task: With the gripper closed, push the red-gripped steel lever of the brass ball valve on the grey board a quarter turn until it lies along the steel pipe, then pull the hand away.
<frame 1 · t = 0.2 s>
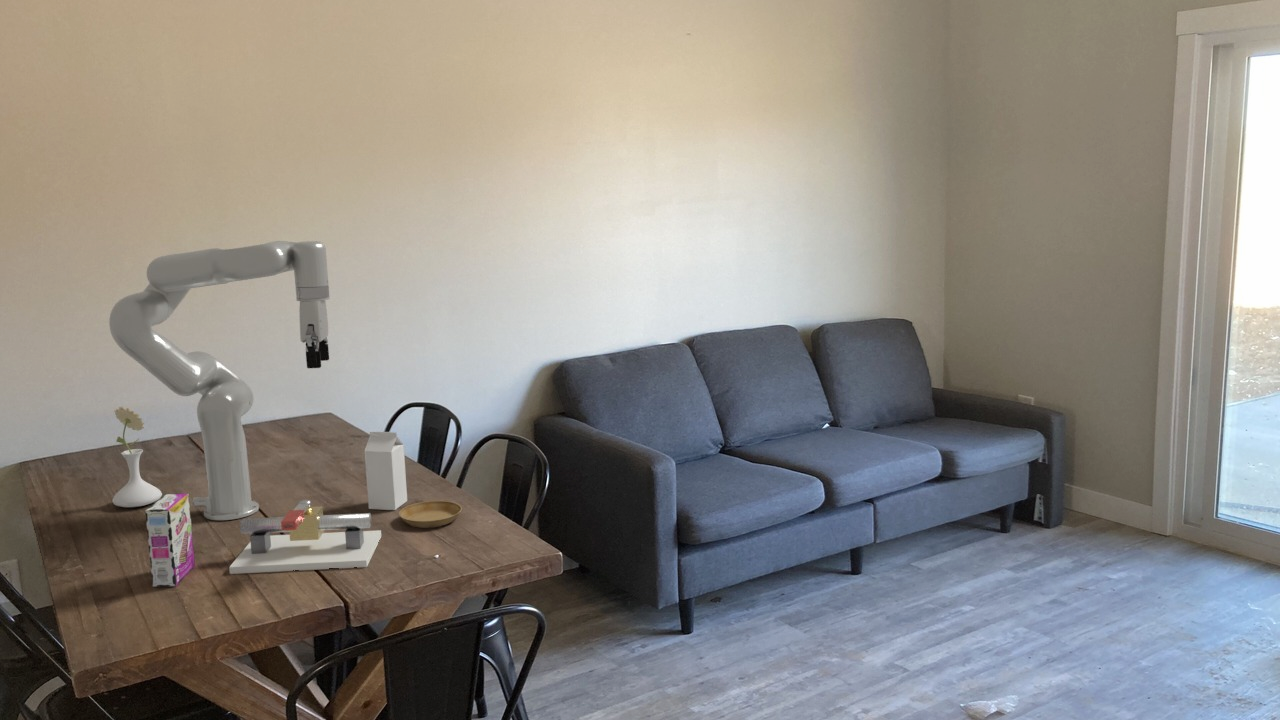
hand: (318, 364, 239), 37 cm above the table, tool pointing down, fingers open, 9 cm apart
flower in vase: (137, 503, 253), on the table
valve lever: (297, 513, 208), point 11 cm above the table, hinge at 0.0°
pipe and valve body: (306, 528, 215), on the valve board, point 6 cm above the table
candy bar box: (175, 577, 205), on the table
valve board: (309, 554, 216), on the table
milk carton: (388, 506, 247), on the table
plant saucer: (431, 521, 237), on the table
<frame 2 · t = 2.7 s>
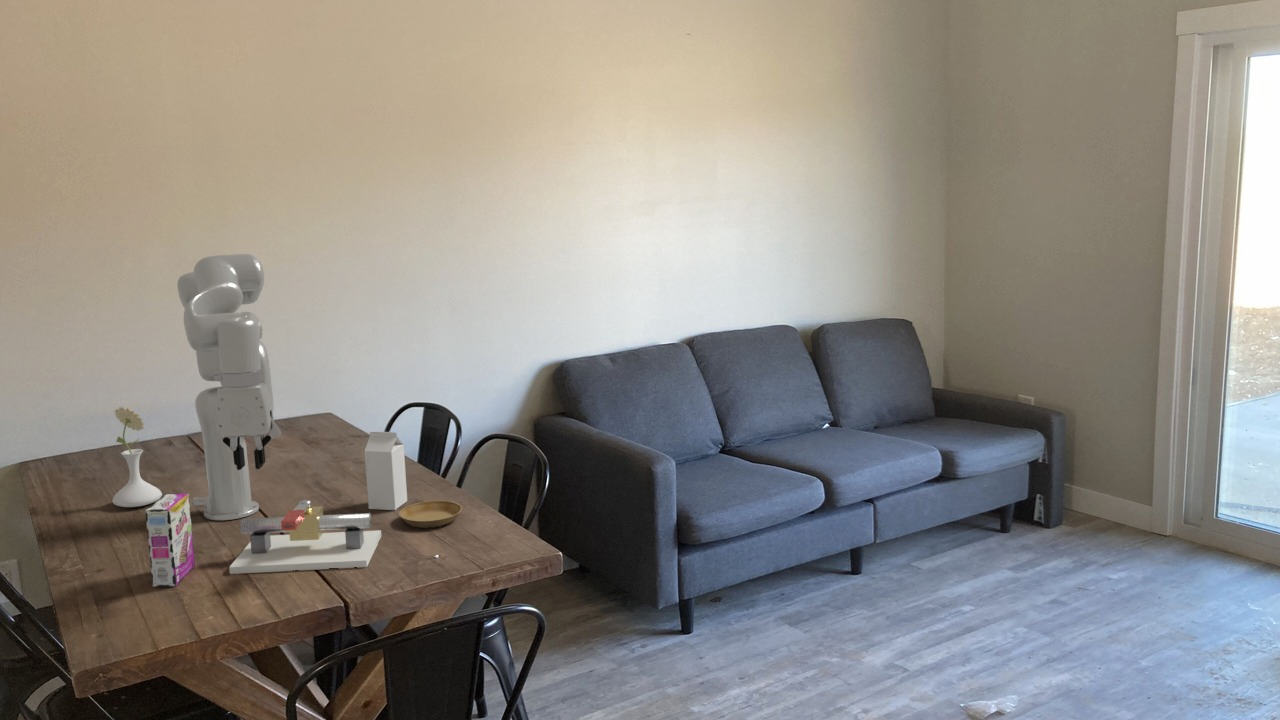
hand: (250, 466, 201), 23 cm above the table, tool pointing down, fingers open, 3 cm apart
nothing on the table moved.
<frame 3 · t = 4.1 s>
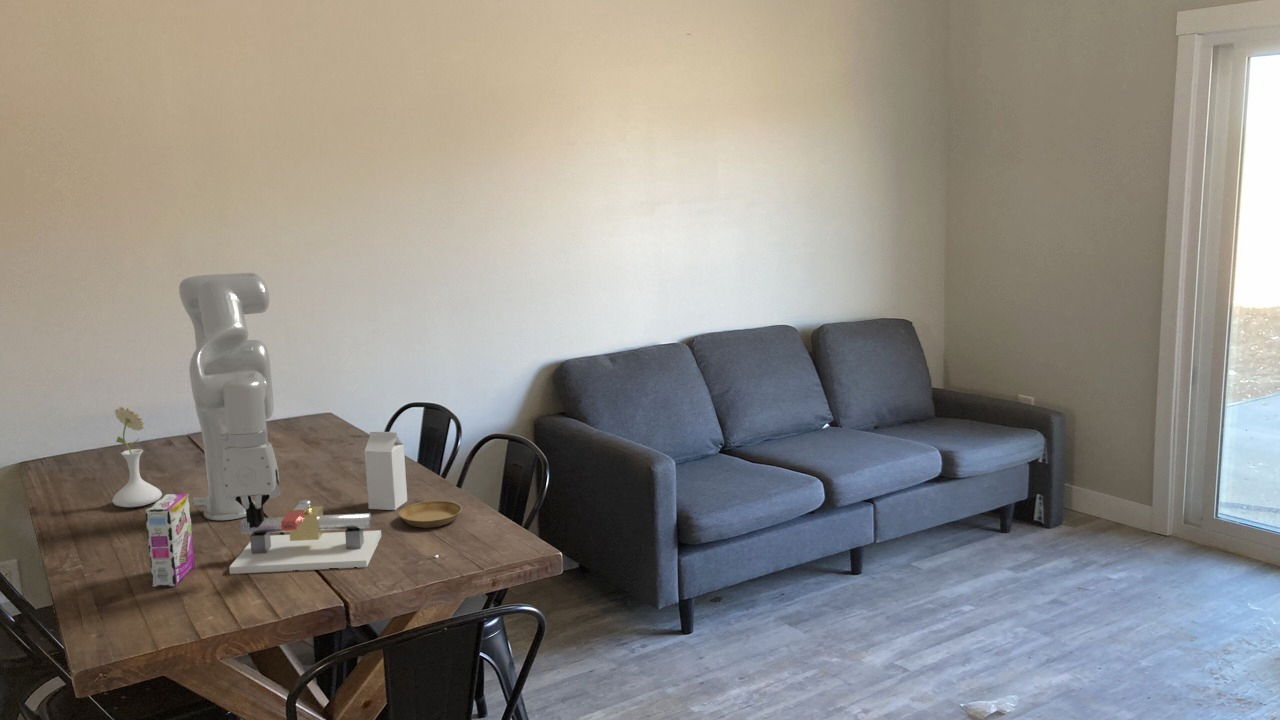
hand: (256, 525, 203), 11 cm above the table, tool pointing down, fingers closed
nothing on the table moved.
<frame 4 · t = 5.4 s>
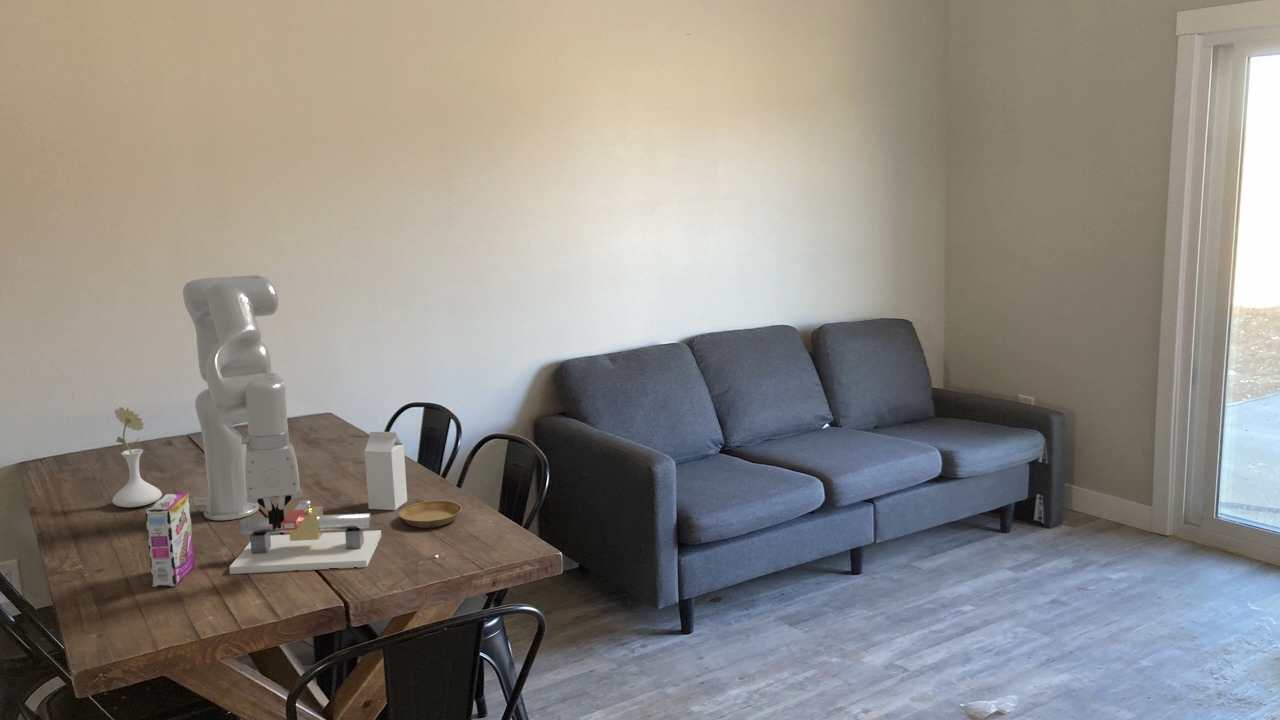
hand: (277, 526, 204), 10 cm above the table, tool pointing down, fingers closed
valve lever: (298, 513, 208), point 11 cm above the table, hinge at 0.8°, touching gripper
everything else where it was.
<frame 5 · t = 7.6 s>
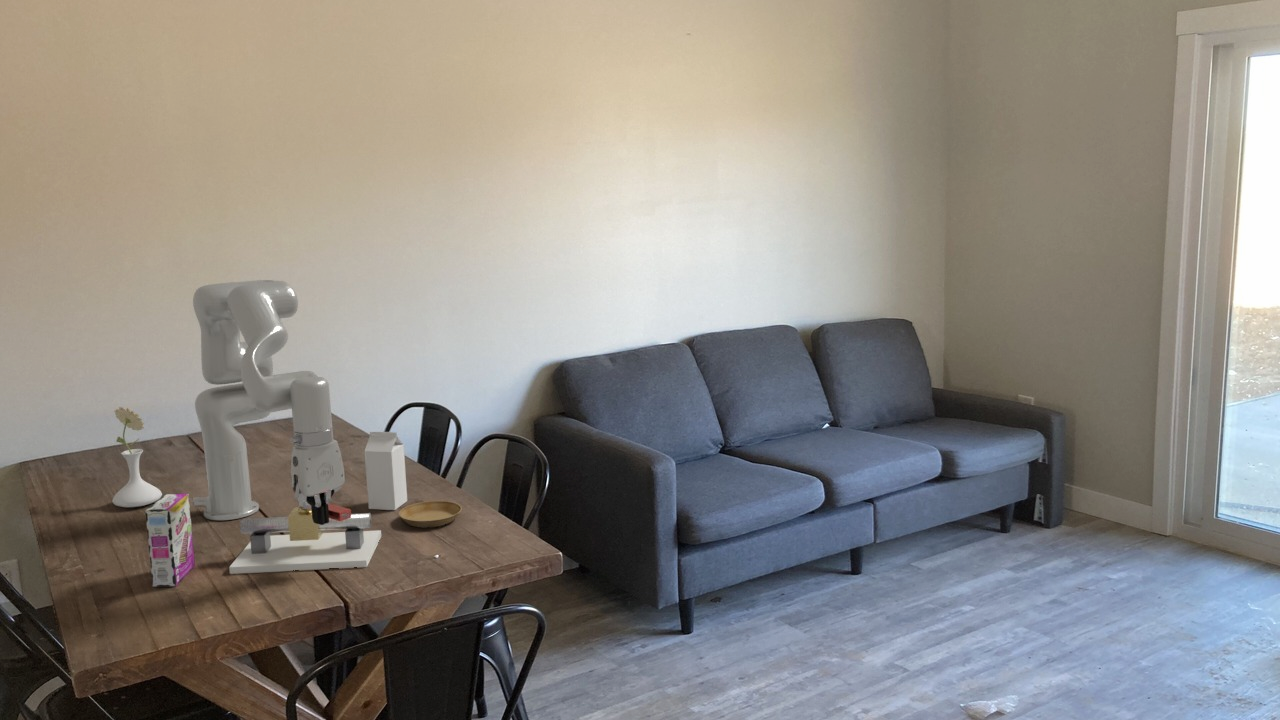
hand: (321, 522, 206), 10 cm above the table, tool pointing down, fingers closed
valve lever: (323, 509, 210), point 12 cm above the table, hinge at 50.2°, touching gripper
everything else where it was.
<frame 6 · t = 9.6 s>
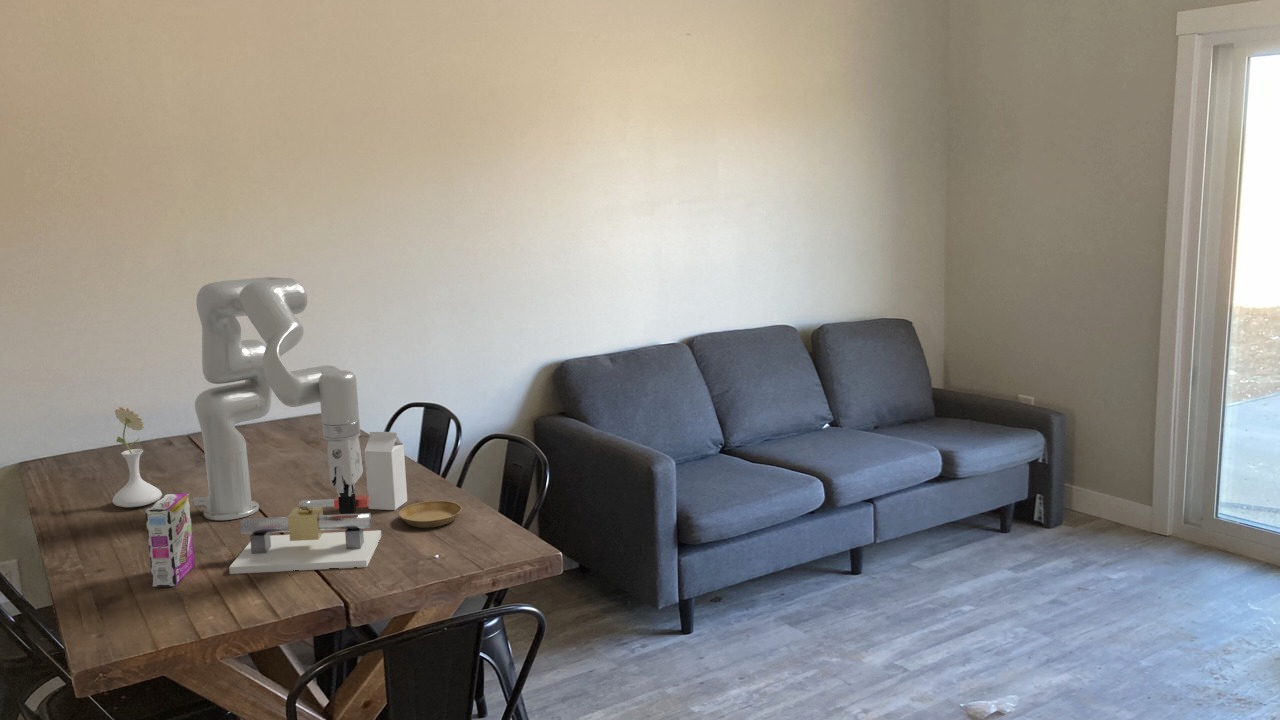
hand: (348, 512, 212), 10 cm above the table, tool pointing down, fingers closed
valve lever: (333, 502, 214), point 12 cm above the table, hinge at 90.5°, touching gripper
everything else where it was.
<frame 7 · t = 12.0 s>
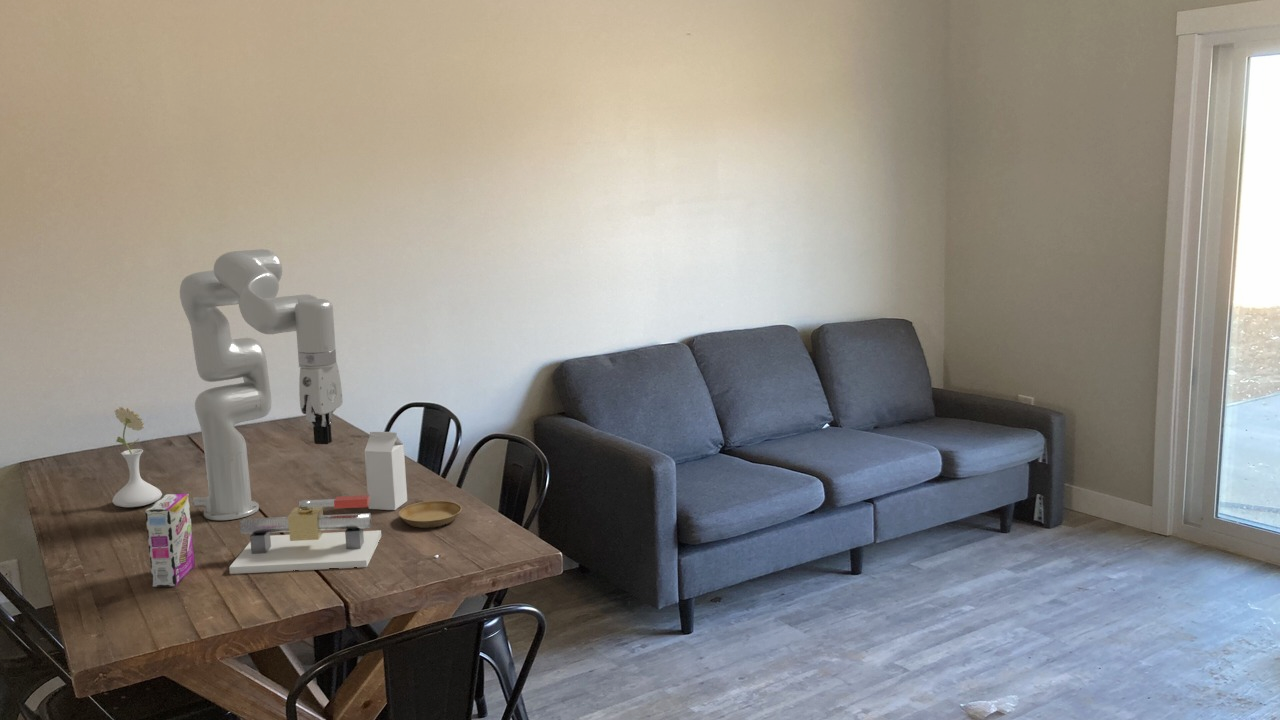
hand: (323, 442, 210), 25 cm above the table, tool pointing down, fingers closed
valve lever: (333, 502, 214), point 11 cm above the table, hinge at 90.5°
everything else where it was.
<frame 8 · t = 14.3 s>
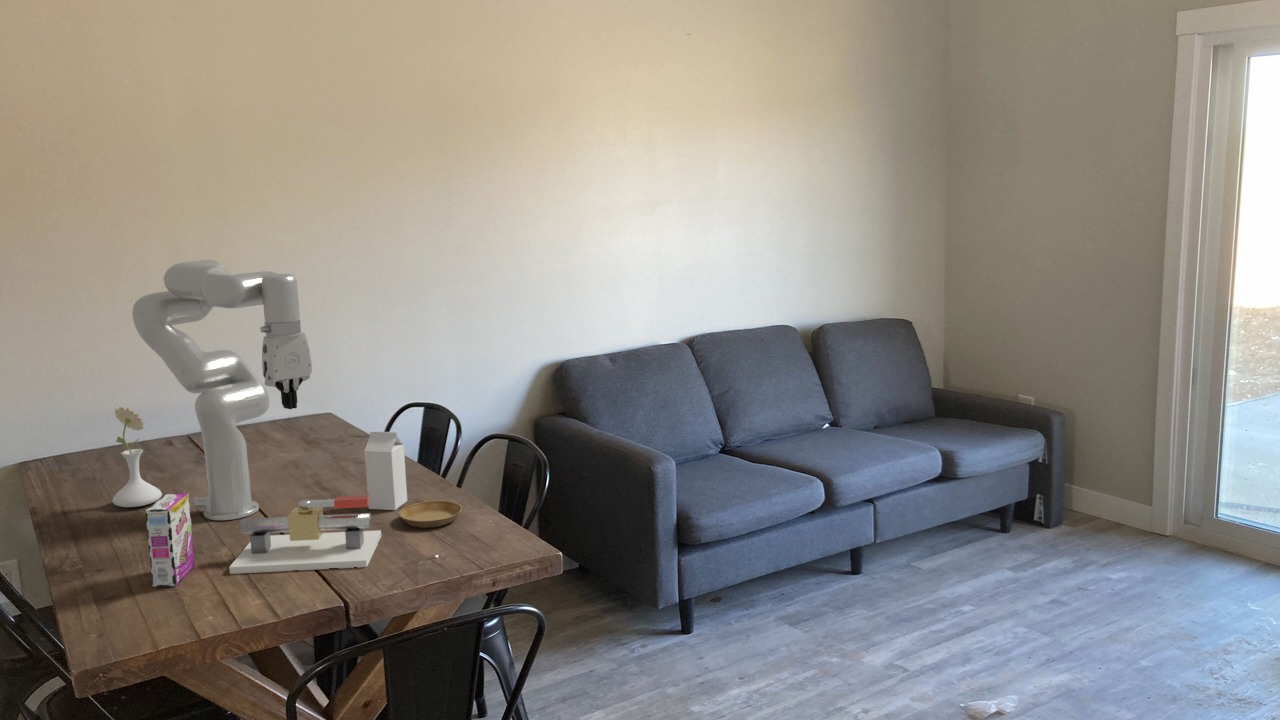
hand: (290, 407, 227), 29 cm above the table, tool pointing down, fingers closed
nothing on the table moved.
at the end: valve lever at +90° (first picture: +0°); candy bar box moved 0.2 cm from its start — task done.
